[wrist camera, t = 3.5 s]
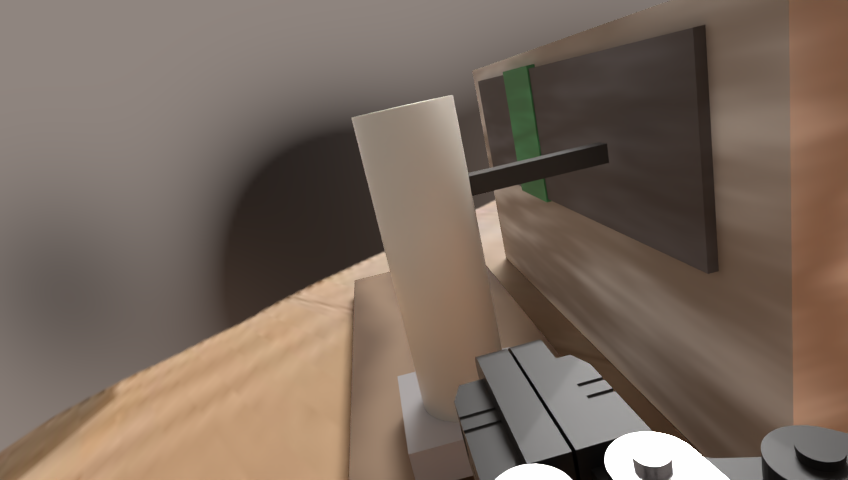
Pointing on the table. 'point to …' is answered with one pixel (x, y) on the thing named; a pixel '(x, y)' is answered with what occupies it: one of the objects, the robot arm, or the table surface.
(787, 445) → the robot arm
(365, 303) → the base
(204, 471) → the table surface
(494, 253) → the table surface
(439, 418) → the white cylinder on base
